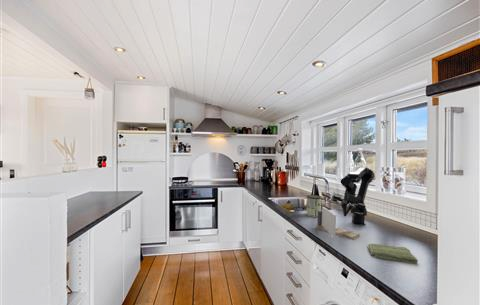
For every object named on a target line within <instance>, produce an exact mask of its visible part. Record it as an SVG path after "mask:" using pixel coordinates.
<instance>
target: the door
mask: <svg viewBox="0 0 480 305" xmlns="http://www.w3.org/2000/svg"><path fill="white" fill-rule="evenodd" d="M321 211H322V213H321V225H322V226H323V227H324V228H325V229H326V230H327V231H328V232H327V231H326V232H327V233H329V234H330V235H331V236H332V237H334V238H335V237H336V235H337V234H336V228H337V214H335V213H334V212H332V211H331V210H329V209H328V208H326V207H325V206H321Z"/></svg>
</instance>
